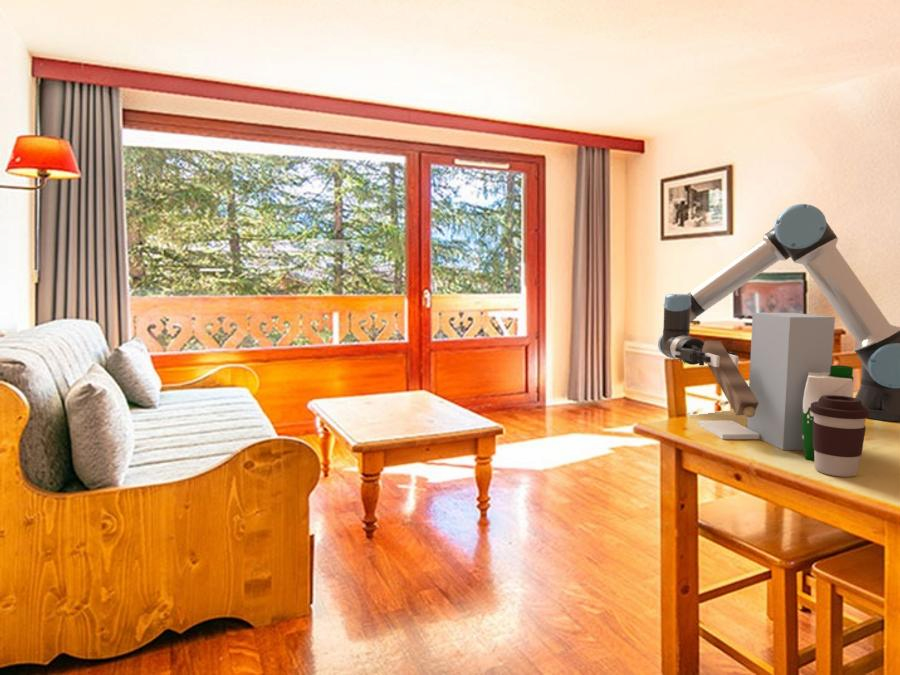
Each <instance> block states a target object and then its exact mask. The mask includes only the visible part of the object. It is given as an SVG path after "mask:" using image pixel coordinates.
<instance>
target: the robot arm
mask: <svg viewBox="0 0 900 675" xmlns="http://www.w3.org/2000/svg"><path fill="white" fill-rule="evenodd" d="M838 240H839V238H838V236H837V235H836V234H835V232H834V230H833V229H832V227H831V226H830V225H829V223H828V222H827V220H826V216H825V214H824V213H823V211H821V209H819V208H818V207H816V206H814V205H811V204H807V203H799V204H795V205H792V206H790V207H788V208H786V209H785V210H783V211H782V212H781V213H780V214H779V215H778V216H777V218H776V219H775V223H774V226H773V227H772V229H770V230H769V231H768V232H767V233H765V234H763V238H762V240H761V241H759V243H757V244H756V245H754V246H752V247H751V248H750V249H748V250H747V251H746V252H745V253H743V254H741V255H740V256H739V257H737V258H736V259H734V260H733V261H732V262H731V263H729V264H728V265H726V266H724V267H723V268H722V269H720V270H719V271H718V272H716V273H715V274H713V275H712V276H711V277H709V278H708V279H707V280H705V281H704V282H702V283H701V284H700V285H698V286H697V287H695V288H694V289H693V290H691V291H690V292H688V293H686V294H684V293H667V294H666V295H665V297H664V303H663V330H662V335H661V336H660V337H659V339H658V342H657V347H658V350H659V352H660V353H662V354H663V355H664V356H665V357H668V358H670V359H675V360H677V359H682V360H683V362H684V364H687V365H692V366H693V365H699V366H705V364H706V365H707V366H708V365H711V366H714V367H719V360H720V356H717V355H713V354H710V353H705V355H704V353H703V352H701V351H702V348H703V345H704V343H705V341H702V340H701V339H699V338H696V337H693V336H690V333H691V332H690V330H691V329H690V327H691V322H692V321H695V320H696V319H697V317H699V316H701V315H702V314H703V313H705V312H706V311H708V310H709V309H710V308H712V307H713V306H714V305H716V304H717V303H720V302H721V301H722V300H723V299H725V298H726V297H728V296H729V295H731V294H732V293H733V292H735V291H737V290H738V289H739V288H741V287H742V286H744V285H746V284H747V283H748V282H750V281H751V280H752V279H754V278H755V277H757V276H758V275H760V274H762V273H763V272H764V271H767V269H769V268H770V267H771V266H773V265H774V264H776V263H777V262H779V261H787V260H788V259H790V258H791V260H792V261H793V262H794V263H795V264H799V265H802V266H804V268H805V269H806V270H807V272H808V274H809V275H810V277H811V278H812V279H813V282H815V284H816V285H817V287H818V288H819V289H820V291H821V292H822V293H821V294H823V296H824V297H825V299H827V301H828V303H829V304H830V306H831V307H832V309H833V311H834V312H835V313H836V315H837V316H838V317H839V319H840V321H841V322H842V323H843V324H844V326H845V327H846V329H847V331H848V333H850V335H851V337H852V338H853V339H854V340H855V341H854V346H853V351H854V352H855V353H856V355H857V357H858V358H859V360H860V361H861V372H860V373H861V374H860V386H859V389H858V390H857V392H856V395H855V396H854V398H857V399H859V400H861V402H862V405H863V406H865V407H867V408H869V409H870V416H869V418H868V419H871V420H872V419H873V420H879V421H887V422H900V326H896V325H893V324H890V322H889V321H888V319H887V318H886V316H885V315H884V313H883V312H882V311H881V309H880V308H879V307H878V305H877V304H876V302H875V300H874V299H873V298H872V296H871V295H870V294H869V292H868V291H867V289H866V288H865V286H864V285H863V284H862V282H861V281H860V279H859V278H858V276H857V275H856V274H855V272H854V270H852V268H851V266H850V265H849V263H848V262H847V261H846V259H845V258H844V256H843V255H842V253H841V252H840V251H839V249H838V248H837V244H838ZM726 351H727V353H728V354H729V356H730V358H731V359H732V361H733V362H734V364H735V365H736V367H737V368H739V358H740V357H739V356H738V355H736V352H733V351H731V350H730V349H729V350H727V349H726ZM682 360H681V361H680V362H682Z"/></svg>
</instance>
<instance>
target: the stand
mask: <svg viewBox="0 0 900 675" xmlns="http://www.w3.org/2000/svg"><path fill="white" fill-rule="evenodd" d="M751 319H752V321H751V337H750V338H751V343H750V358H749V359H750V363H749V382H748V386H749V388H750V389H751V391H752V393H753V394H754V396H755V397H756V399H757V401H758V402H759V403H758V406H757V408H756V410H755V415H754V416H753V417H747V421H746V422H747V424H746V428H748V429H750V430H752V431H754V432H756V433H758V434H760V439H759V440H762V441H764V442H765V443H768V444H770V445H772V446H773V447H776V448H777V447H778V449H779V448H780V450H781V449H782V450H781V451H804V446H803V439H802V410H803V397H804V390H805V385H806V381H807V376H808V372H813V373H822V372H825V373H830V367H831V366H832V365H833V356H834V355H833V352H834V339H835V337H834V336H835V320H836V317H835V316H827V315H817V314H808V313H799V312H752V318H751Z"/></svg>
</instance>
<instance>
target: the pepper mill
mask: <svg viewBox="0 0 900 675" xmlns="http://www.w3.org/2000/svg"><path fill="white" fill-rule="evenodd" d="M726 350H727V349H726V348H725V347H724V345H723V343H722V341H721V340H704V345H703V348H702V351H701V352H703V353H704V355H705V353H710V354H713V355H717V356H720V360H719V367H714V366H711V365H708V364H707V366H708V367H709V369H710V371H711V373H712V374H713V377H714V378H715V380H716V382H717V384H718V385H719V387H720V389H721V391H722V392H723V394H724V396H725V398H726V399H727V401H728V403H729V404H730V407H731V408H732V410H733V412H734V414H735V415H736V416H745V417H746V418H748V417H753V416H754V415H755V410H756V408H757V406H758V403H759V402H758V401H757V399H756V397H755V396H754V394H753V393H752V391H751V389H750V388H749V384H748V383H747V381H746V380H745V379H744V376H743V375H742V373H741V371H740V370H739V368H738V367H736V365H735V364H734V362H733V361H732V359H731V358H730V356H729V354H728V353H727V351H726Z"/></svg>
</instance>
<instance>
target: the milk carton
mask: <svg viewBox="0 0 900 675" xmlns="http://www.w3.org/2000/svg"><path fill="white" fill-rule="evenodd" d="M853 370H854V367H853V366H848V365H841V364H837V365H836V364H835V365H834V364H832V366H831V367H830V373H825V372H822V373H813V372H808V376H807V381H806V385H805V390H804V397H803V410H802V439H803V446H804V450H803V451H804V456H805V460H811V461H815V459H814V449H813V420H814V413H813V412H811V410H810V408H811V403H813V402H818V400H819V398H820V397H821V396H825V395H837V396H847V397H853V398H854V389H853V388H854V376H853V372H854V371H853Z"/></svg>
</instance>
